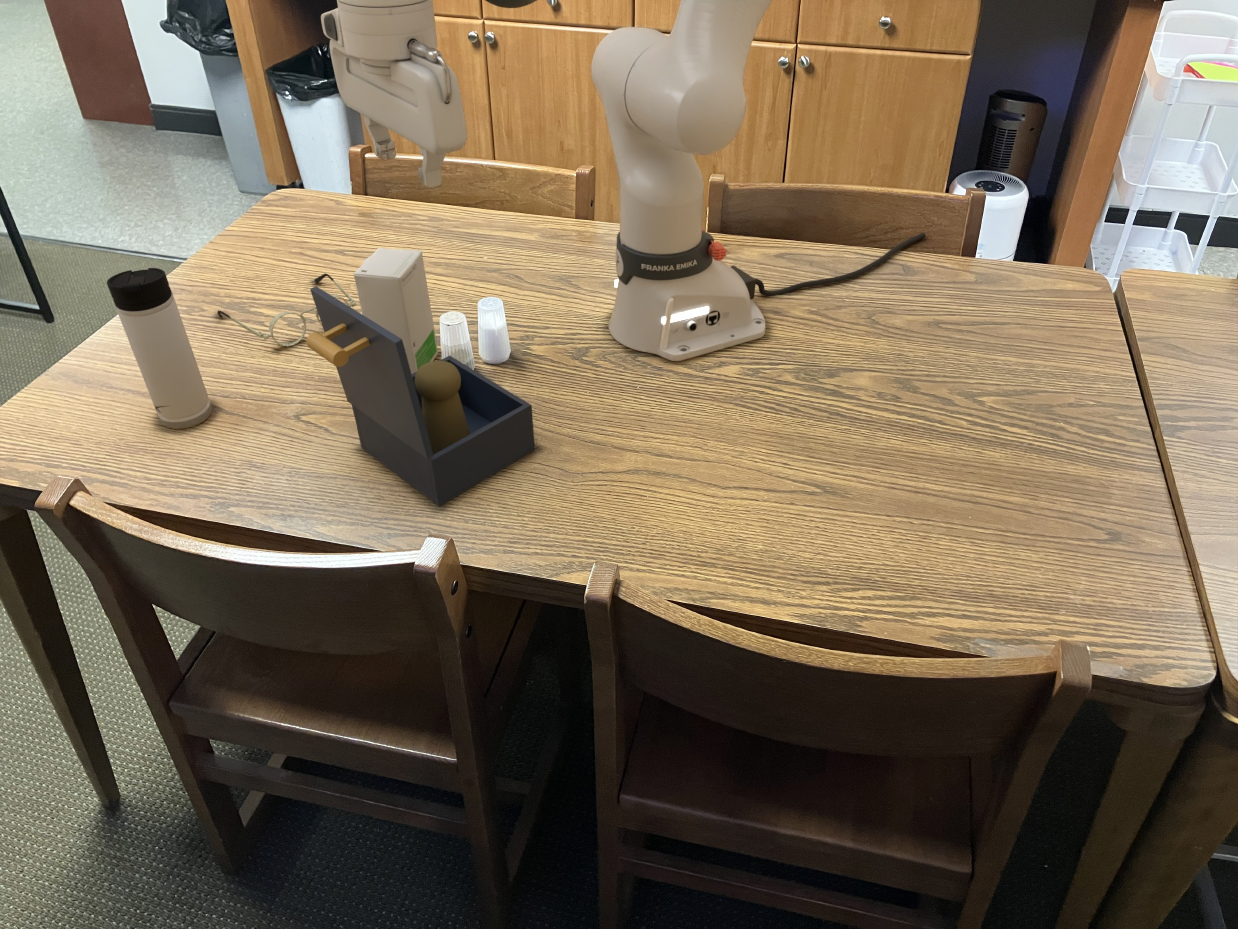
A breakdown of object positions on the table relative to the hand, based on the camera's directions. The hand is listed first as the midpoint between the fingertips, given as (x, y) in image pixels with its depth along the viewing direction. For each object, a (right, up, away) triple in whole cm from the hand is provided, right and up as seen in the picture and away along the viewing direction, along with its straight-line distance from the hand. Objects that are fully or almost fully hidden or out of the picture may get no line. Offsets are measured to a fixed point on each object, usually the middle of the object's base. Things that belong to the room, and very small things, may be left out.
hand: (408, 170), depth 98 cm
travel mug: (-33, -25, +20) cm, 46 cm away
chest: (+2, -29, +15) cm, 33 cm away
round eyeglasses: (-26, -9, +40) cm, 48 cm away
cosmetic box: (-7, -17, +29) cm, 35 cm away
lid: (-4, -21, +1) cm, 21 cm away
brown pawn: (+2, -29, +14) cm, 32 cm away
